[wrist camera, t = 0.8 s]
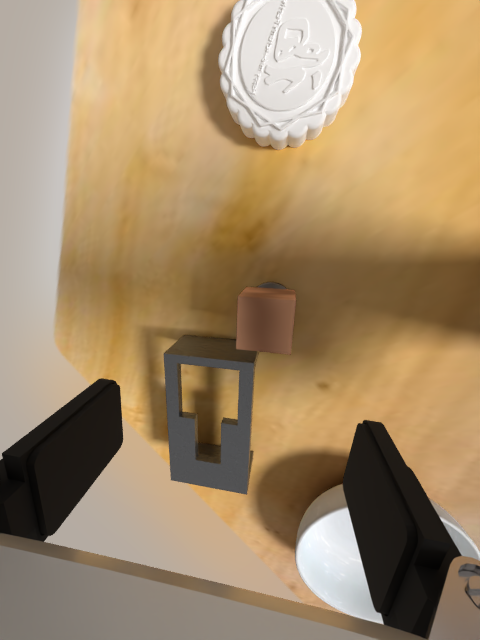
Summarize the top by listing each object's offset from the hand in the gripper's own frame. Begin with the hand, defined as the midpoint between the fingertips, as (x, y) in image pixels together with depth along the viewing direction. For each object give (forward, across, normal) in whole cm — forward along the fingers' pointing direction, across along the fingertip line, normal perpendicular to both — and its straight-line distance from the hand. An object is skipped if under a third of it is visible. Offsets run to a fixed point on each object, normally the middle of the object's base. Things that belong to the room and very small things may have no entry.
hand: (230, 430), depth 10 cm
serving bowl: (+22, -18, +29) cm, 41 cm away
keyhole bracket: (+22, +4, +14) cm, 27 cm away
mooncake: (+23, 0, -22) cm, 32 cm away
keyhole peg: (+22, -1, 0) cm, 22 cm away
